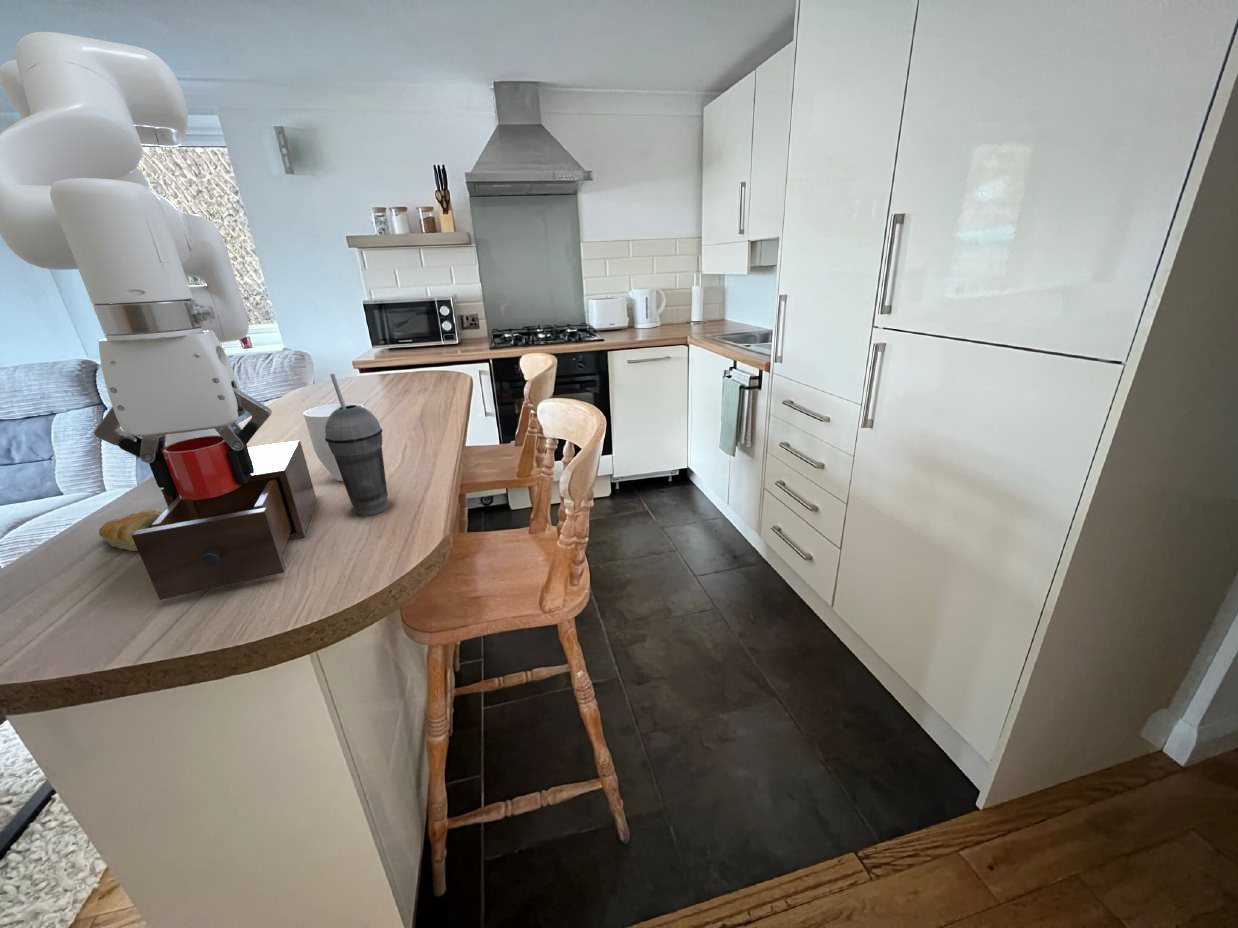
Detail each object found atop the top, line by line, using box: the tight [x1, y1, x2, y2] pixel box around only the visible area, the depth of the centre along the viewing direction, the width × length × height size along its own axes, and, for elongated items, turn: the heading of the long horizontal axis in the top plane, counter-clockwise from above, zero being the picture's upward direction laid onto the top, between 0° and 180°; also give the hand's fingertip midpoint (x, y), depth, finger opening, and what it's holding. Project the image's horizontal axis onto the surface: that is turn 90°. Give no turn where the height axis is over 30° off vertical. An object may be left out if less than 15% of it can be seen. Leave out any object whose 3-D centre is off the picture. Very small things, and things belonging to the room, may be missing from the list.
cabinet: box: [160, 440, 317, 541], centre depth 69 cm, size 14×13×10 cm
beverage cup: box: [325, 373, 389, 517], centre depth 71 cm, size 7×7×20 cm
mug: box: [302, 402, 365, 482], centre depth 86 cm, size 12×9×12 cm
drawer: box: [132, 477, 293, 601], centre depth 59 cm, size 14×11×8 cm
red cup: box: [161, 435, 242, 500], centre depth 56 cm, size 6×6×6 cm
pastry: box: [98, 509, 164, 552], centre depth 68 cm, size 9×7×4 cm
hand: (210, 484), depth 57 cm, fingers closed on red cup, 5 cm apart
